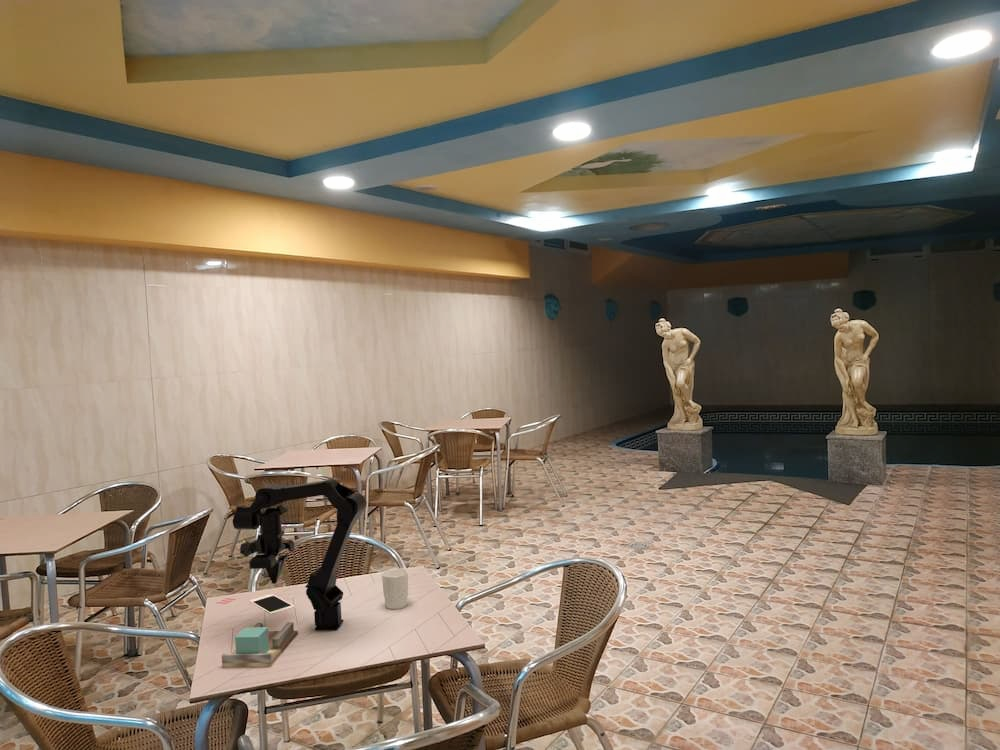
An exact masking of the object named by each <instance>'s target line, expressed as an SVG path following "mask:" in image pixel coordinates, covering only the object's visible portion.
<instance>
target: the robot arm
mask: <svg viewBox="0 0 1000 750" xmlns="http://www.w3.org/2000/svg"><path fill="white" fill-rule="evenodd" d="M319 496H324V497H325V498H327V501H329V503H330V504H331V506H333V507H334V509H336V516H335V517H336V526H335V529H334V531H333V534H332V537H331V539H330V541H329V544H328V547H327V550H326V552H325V556H324V557H323V561H322V563H321V566H320V567H318V568H317V569H316V570H315V571H313V572H311V573H310V575H309V577H308V581H307V584H306V585H305V587H304V588H306V589H305V595H306V597H307V599H308V600H309V601H310V603H311V606H312V608H313V610H314V613H313V615H314V626H315V627H314V631H337V630H339V628H340V627H341V626H342V624H343V623H344V619H343V618H342V606H341V604H342V602H341V601H342V600H343V596H344V592H343V591H342V590H341V589H340V587H338V585H337V584H336V583H337V579H338V576H337V570H338V566H339V564H340V561H341V558H342V556H343V554H344V551H345V549H346V546H347V543H348V540H349V538H350V535H351V532H352V530H353V528H354V526H355V524H356V523H357V522H358V520H359V519H360V517H361V516H362V514H363V513H364V511H365V510H366V508H367V500H366V498H365V497H364V495H363V494H362V493H359V492H356V491H354V489H352V488H350V487H348V486H346V485H343V484H341V483H340V482H339V481H338V480H335V478H328V479H326V480H321V481H320V480H319V481H314V482H313V481H312V482H306V483H301V484H300V483H299V484H292V485H287V484H284V483H271V484H268V485H265V486H264V487H261V488H259V489H257V491H256V492H255V495H254V497H255V499H254V500H253V501H252V503H251V504H250V505H242V504H241V505H240V504H239V505H238V506H236V511H235V513H234V514H233V518H232V526H233V528H234V529H235V530H252V531H253V530H258V528H259V527H260V534H259V535H258V536H257V538H256V539H253V540H252V541H249V540H247V541H246V542H242V543H241V544H240V548H239V550H240V551H239V553H240V554H241V555H243V557H244V558H247V557H249V556H250V555H253V554H256V553H257V554H256V555H254V556H253V557H252V558H251V559H250V560H249V562H248V567H249V569H250V570H259V569H262V570H263V569H265V570H266V571H267V574H268V576H269V579H270V581H271V584H272V585H275V584H277V583H278V581H279V578H280V576H281V572H282V570H283V567H284V565H285V562H286V560H287V558H288V555H285V554H283V553H282V552H283V551H284V550H288V551H289V552H293V550H295V541H293V539H283V536H284V535H285V530H284V529H282V528H283V527H282V515H284V514H287V513H288V512H289V510H288V509H287V508H286V507H284V505H282V503H285V502H287V501H292V500H293V501H294V500H298V499H299V500H301V499H306V498H312V497H313V498H315V497H319ZM277 505H278V506H277ZM274 506H276V507H274ZM263 509H265V510H263Z"/></svg>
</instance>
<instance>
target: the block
mask: <svg viewBox="0 0 1000 750" xmlns="http://www.w3.org/2000/svg"><path fill="white" fill-rule="evenodd" d="M268 631H269V627H268V626H263V627H254V626H253V627H252V626H251V627H247V626H246V627H244V628H243V629H242V630H241V631H240V632H239V633H238V634H237V635H236V636H235V638H234V640H235V642H234V643H235V644H234V645H235V650H236V654H258V653H267V652H268V651H269V637H268Z"/></svg>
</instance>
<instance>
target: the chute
mask: <svg viewBox="0 0 1000 750" xmlns="http://www.w3.org/2000/svg"><path fill="white" fill-rule="evenodd" d="M294 626H295V625H294V622H293V621H289V622H288V621H287V622H286V623H285V624H284V625H283V627H282V628H280V630H268V637H269V651H268V652H267V653H258V654H236V649H235V650H234V651H233V652H232V653H222V655H221V667H222V668H253V667H254V668H256V667H257V668H258V667H259V668H260V667H261V668H262V667H263V668H266V667H268V668H269V667H270V668H271V667H272V666H273V665H274V663H275V662H276V661H277V660H278V658H279V657H281V655H282V654H283V653H284V651H285V650H286V649H287V648H288V647H289V645H290V644H291V643H292V642H293V641H294V639H295V638H296V637H297V636H298V635H299V630H295V629H294ZM253 627H264V622H257V623H256V624H254V626H253Z"/></svg>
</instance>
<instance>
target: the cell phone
mask: <svg viewBox="0 0 1000 750" xmlns="http://www.w3.org/2000/svg"><path fill="white" fill-rule="evenodd" d="M248 601H249V603H251V604H252V603H253V605H254V604H255V605H254V606H256V605H257V606H258V608H259V607H260V609H261V608H262V609H261V610H263V611H264V610H265V611H264V612H266V611H267V612H266V613H268V614H269V613H270V614H269V615H273V613H274V614H277V613H281V612H283V610H284V611H287V610H290V609H293V608H295V607H296V606H295V605H294V604H292V603H290V602H288V601H286V600H284V599H282V598H281V597H279V596H277V595H276V594H273V593H270V594H267V595H263V596H261V597H257V598H253V599H250V600H248ZM257 606H256V607H257ZM286 609H287V610H286Z"/></svg>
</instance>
